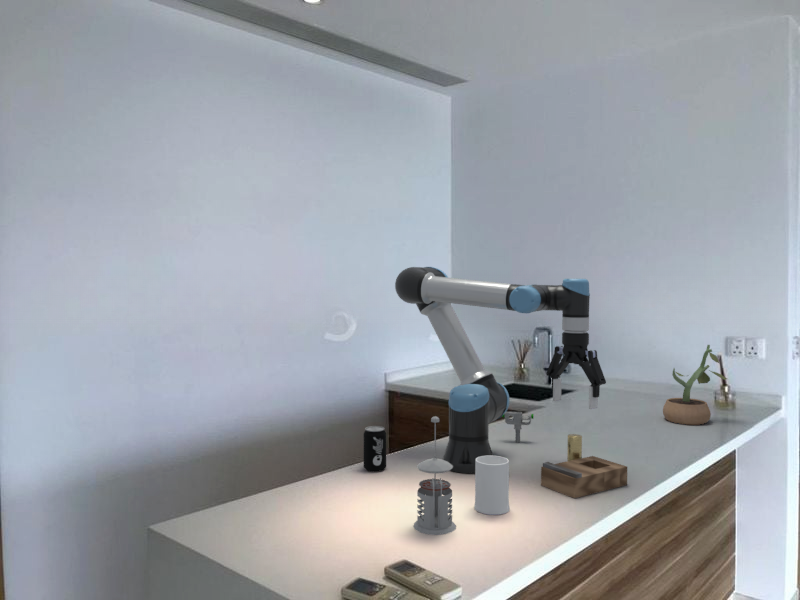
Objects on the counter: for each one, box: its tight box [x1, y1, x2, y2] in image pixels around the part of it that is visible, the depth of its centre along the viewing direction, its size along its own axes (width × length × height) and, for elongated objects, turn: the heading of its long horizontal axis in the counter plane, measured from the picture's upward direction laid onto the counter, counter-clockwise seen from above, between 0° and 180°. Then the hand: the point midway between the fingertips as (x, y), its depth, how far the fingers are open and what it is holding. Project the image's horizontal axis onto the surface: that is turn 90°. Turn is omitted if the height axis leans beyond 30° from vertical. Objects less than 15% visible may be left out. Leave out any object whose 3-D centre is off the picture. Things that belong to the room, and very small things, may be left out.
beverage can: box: [363, 425, 387, 473], centre depth 190 cm, size 7×7×12 cm
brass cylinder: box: [566, 433, 583, 462], centre depth 189 cm, size 4×4×10 cm
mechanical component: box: [501, 411, 534, 444], centre depth 220 cm, size 3×10×10 cm, turn 79°
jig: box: [540, 455, 628, 499], centre depth 176 cm, size 20×12×6 cm, turn 122°
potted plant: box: [662, 344, 728, 426], centre depth 250 cm, size 22×18×30 cm
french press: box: [412, 415, 457, 536], centre depth 146 cm, size 10×12×25 cm
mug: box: [473, 455, 511, 516], centre depth 159 cm, size 12×8×12 cm
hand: (574, 404), depth 190 cm, fingers open, 13 cm apart
